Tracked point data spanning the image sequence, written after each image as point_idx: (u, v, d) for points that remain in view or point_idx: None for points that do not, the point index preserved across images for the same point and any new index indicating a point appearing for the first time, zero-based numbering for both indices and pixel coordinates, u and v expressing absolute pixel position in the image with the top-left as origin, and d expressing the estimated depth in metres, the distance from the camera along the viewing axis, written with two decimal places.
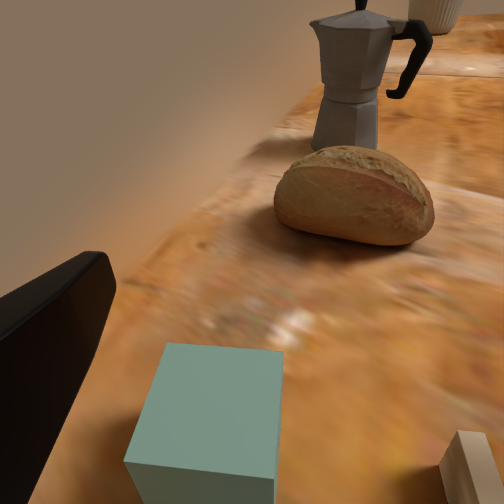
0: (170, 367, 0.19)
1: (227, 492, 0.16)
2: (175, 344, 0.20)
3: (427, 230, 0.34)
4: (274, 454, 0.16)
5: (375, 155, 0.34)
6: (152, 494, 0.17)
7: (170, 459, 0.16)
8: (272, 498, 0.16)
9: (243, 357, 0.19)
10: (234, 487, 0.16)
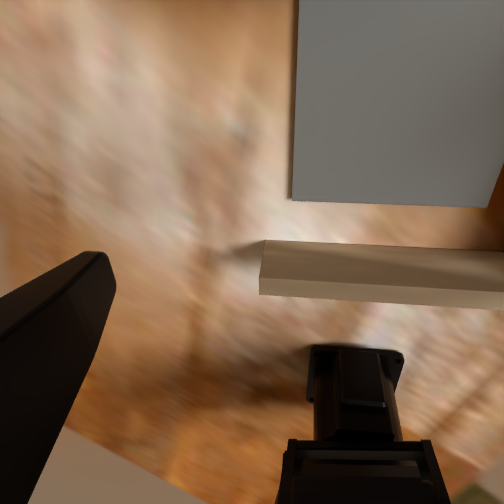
0: None
1: None
2: None
3: None
4: None
5: None
6: None
7: None
8: None
9: None
10: None
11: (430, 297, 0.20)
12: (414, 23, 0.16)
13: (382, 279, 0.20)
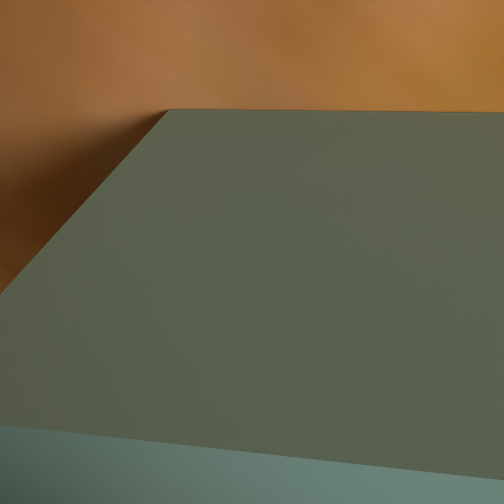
0: None
1: None
2: None
3: None
4: None
5: None
6: None
7: None
8: None
9: None
10: None
11: None
12: None
13: None
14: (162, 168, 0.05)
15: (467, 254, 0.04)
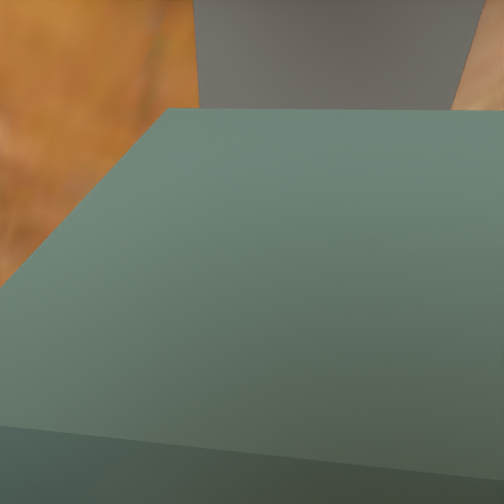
0: None
1: None
2: None
3: None
4: None
5: None
6: None
7: None
8: None
9: None
10: None
11: None
12: None
13: None
14: (160, 166, 0.05)
15: (466, 252, 0.04)
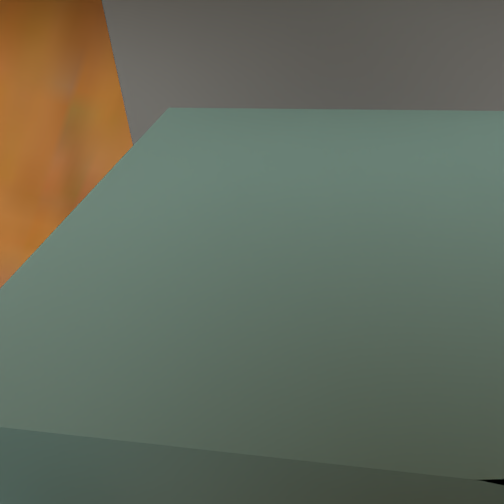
0: None
1: None
2: None
3: None
4: None
5: None
6: None
7: None
8: None
9: None
10: None
11: None
12: None
13: None
14: (161, 166, 0.05)
15: (470, 253, 0.03)
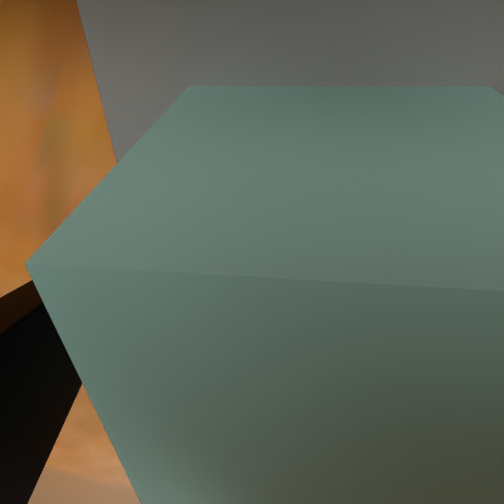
0: (126, 370, 0.04)
1: None
2: (76, 277, 0.04)
3: None
4: None
5: None
6: None
7: None
8: None
9: (479, 339, 0.03)
10: None
11: None
12: None
13: None
14: (189, 127, 0.06)
15: (429, 177, 0.05)
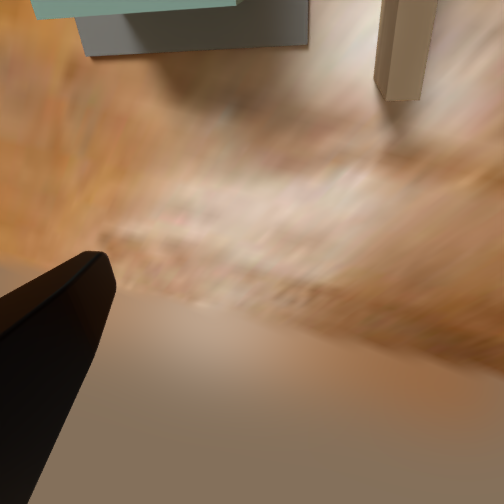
0: None
1: None
2: None
3: None
4: None
5: None
6: None
7: (93, 4, 0.11)
8: None
9: None
10: None
11: None
12: None
13: None
14: None
15: None
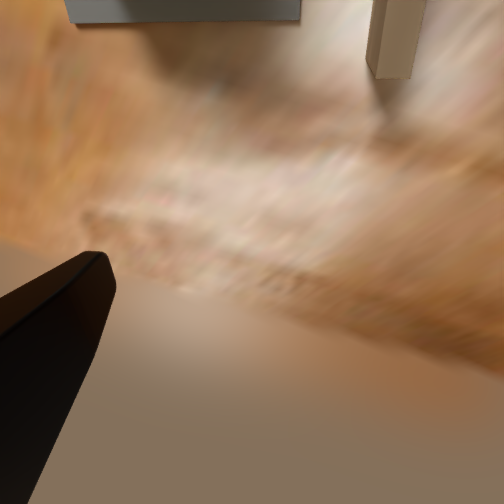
0: None
1: None
2: None
3: None
4: None
5: None
6: None
7: None
8: None
9: None
10: None
11: None
12: None
13: None
14: None
15: None
